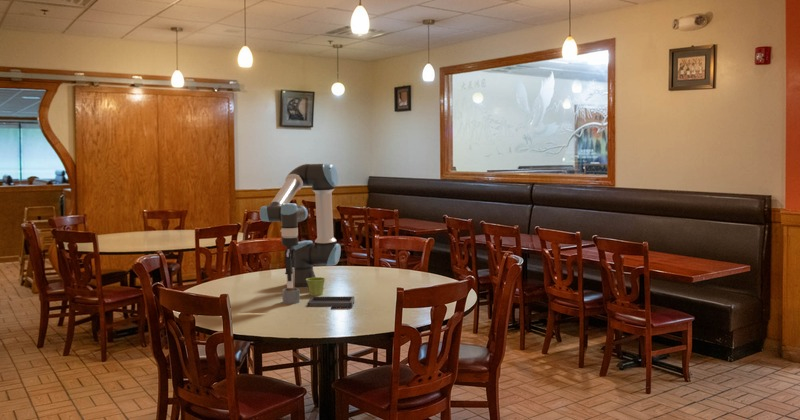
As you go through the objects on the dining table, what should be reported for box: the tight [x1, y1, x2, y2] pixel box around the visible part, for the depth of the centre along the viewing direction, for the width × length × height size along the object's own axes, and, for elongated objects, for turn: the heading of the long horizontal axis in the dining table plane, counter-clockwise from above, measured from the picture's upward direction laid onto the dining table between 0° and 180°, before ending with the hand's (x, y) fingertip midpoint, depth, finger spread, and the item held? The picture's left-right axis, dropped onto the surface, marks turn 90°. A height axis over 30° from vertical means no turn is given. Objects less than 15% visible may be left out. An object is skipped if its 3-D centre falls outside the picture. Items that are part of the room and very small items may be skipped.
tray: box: [307, 295, 355, 309], centre depth 312 cm, size 14×20×2 cm
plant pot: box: [306, 276, 326, 297], centre depth 332 cm, size 9×9×9 cm
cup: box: [281, 287, 301, 305], centre depth 314 cm, size 8×8×7 cm
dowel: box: [286, 267, 296, 291], centre depth 314 cm, size 4×4×16 cm
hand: (290, 286), depth 314 cm, fingers closed on dowel, 3 cm apart
